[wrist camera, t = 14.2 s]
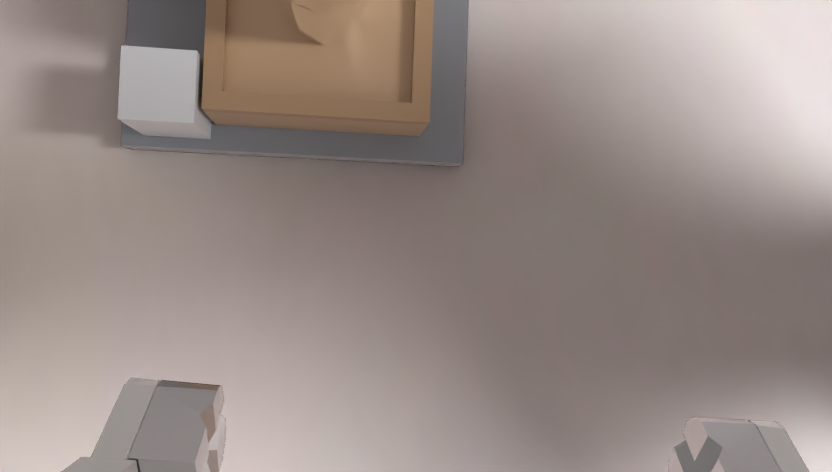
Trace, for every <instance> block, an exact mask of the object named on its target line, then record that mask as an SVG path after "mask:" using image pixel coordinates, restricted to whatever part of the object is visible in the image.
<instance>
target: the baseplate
mask: <svg viewBox="0 0 832 472" xmlns="http://www.w3.org/2000/svg"><path fill="white" fill-rule="evenodd" d="M468 1H469V0H367V3H366V6H365V9H364V11H363V14H362V17H361V20H360V21H359V22H358V24H357V25H356V26H355V28H354V29H353V30H352V32H351V33H350V34H349V36H348V37H347V38H346V39H343V40H339V41H336V42H332V43H329V44H325V45H323V44H320V43H317V42H314V41H312V40H309V39H306V38H303V37H301V36H300V34H299V33H298V31H297V30H296V29H295V27H294V26H293V24H292V23H291V22H290V20H289V19H288V18H287V16H286V13H285V11H284V8H283V6H282V4H281V1H280V0H128V11H127V31H126V46H124V45H121V56H120V76H119V96H118V116H117V119H119V120H120V121H122V131H121V145H122V146H124V147H125V148H127V149H138V150H156V151H175V152H194V153H213V154H232V155H250V156H269V157H288V158H307V159H325V160H344V161H363V162H382V163H401V164H419V165H438V166H457V167H458V166H460V165H461V164H463V144H464V115H465V87H466V58H467V29H468Z"/></svg>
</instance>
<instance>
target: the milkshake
mask: <svg viewBox="0 0 832 472" xmlns="http://www.w3.org/2000/svg"><path fill="white" fill-rule="evenodd" d="M280 1H281V4H282V6H283V8H284V11H285V13H286V16H287V18H288V19H289V20H290V22H291V23H292V24H293V26H294V27H295V29H296V30H297V31H298V33H299V34H300V36H301V37H303V38H306V39H309V40H312V41H314V42H317V43H320V44H323V45H325V44H329V43H332V42H336V41H339V40H343V39H346V38H347V37H348V36H349V34H350V33H351V32H352V30H353V29H354V28H355V26H356V25H357V24H358V22H359V21H360V20H361V17H362V14H363V11H364V9H365V6H366V3H367V0H280Z"/></svg>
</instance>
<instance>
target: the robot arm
mask: <svg viewBox="0 0 832 472" xmlns="http://www.w3.org/2000/svg"><path fill="white" fill-rule="evenodd" d="M223 404H224V393H223V387H222V386H220V385H210V384H199V383H189V382H178V381H167V380H151V379H140V378H130V379H129V380H128V381H127V383H126V384H125V385H124V386H123V388H122V391H121V393H120V395H119V397H118V399H117V401H116V404H115V406H114V408H113V410H112V412H111V414H110V417H109V419H108V421H107V423H106V425H105V427H104V429H103V432H102V434H101V436H100V438H99V440H98V442H97V445H96V447H95V449H94V451H93V453H92V455H91V457H80V458H79V459H78V460H76V461H75V462H74V463H72V464H71V465H70V466H68V467H67V468H65V469H64V470H63V471H61V472H220V468H221V464H222V460H223V454H224V448H225V440H226V419H225V418H224V417H223V416H222V415H221V411H222V407H223ZM682 432H683V434H684V437H685V439H686V440H685V441H684V442H682V443H681V444H679V445H678V446H676V447H674V449H673V451H672V454H671V456H670V459H669V463H668V472H809V470H808V468H807V467H806V465H805V463H804V461H803V460H802V458H801V456H800V455H799V453H798V451H797V449H796V448H795V446H794V444H793V443H792V441H791V439H790V437H789V436H788V434H787V432H786V431H785V429H784V428H783V426H781V425H780V424H779V423H778V422H771V421H755V420H742V419H725V418H707V417H692V418H691V419H689V420H688V421H687V422H686V424H685V426H684V428H683V430H682Z"/></svg>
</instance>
